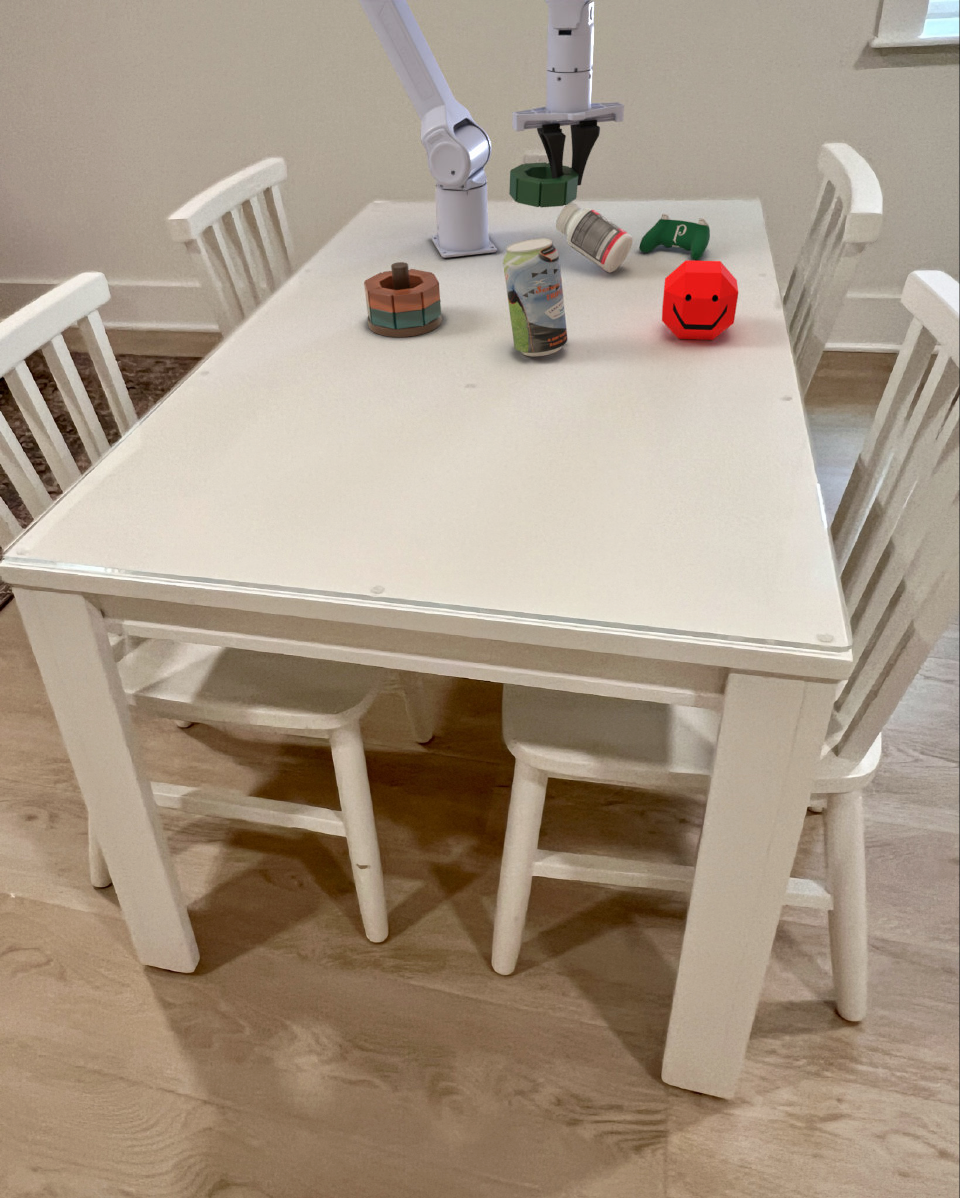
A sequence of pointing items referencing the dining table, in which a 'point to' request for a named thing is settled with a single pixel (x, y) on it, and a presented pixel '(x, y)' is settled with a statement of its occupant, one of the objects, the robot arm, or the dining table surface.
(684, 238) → the gaming controller
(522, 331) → the beverage can
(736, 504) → the dining table surface
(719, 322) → the ball
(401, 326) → the ring stack
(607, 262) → the pill bottle
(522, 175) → the green ring
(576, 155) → the robot arm
